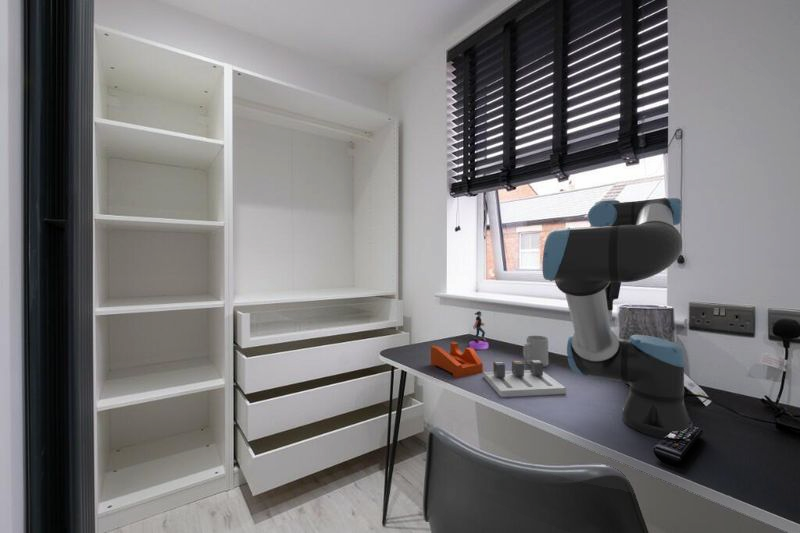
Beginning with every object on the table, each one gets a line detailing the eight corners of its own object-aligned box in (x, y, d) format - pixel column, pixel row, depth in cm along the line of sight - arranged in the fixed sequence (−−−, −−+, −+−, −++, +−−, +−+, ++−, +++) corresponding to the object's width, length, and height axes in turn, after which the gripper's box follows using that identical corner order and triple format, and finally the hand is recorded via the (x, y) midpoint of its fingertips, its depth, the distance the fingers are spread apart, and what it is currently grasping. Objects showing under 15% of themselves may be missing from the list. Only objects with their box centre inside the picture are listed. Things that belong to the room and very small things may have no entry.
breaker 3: (542, 375, 123) (542, 362, 123) (534, 375, 123) (534, 362, 123) (538, 372, 127) (538, 359, 127) (530, 372, 127) (530, 359, 127)
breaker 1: (505, 377, 122) (504, 364, 122) (496, 377, 122) (496, 364, 122) (501, 373, 126) (501, 360, 126) (493, 374, 126) (493, 361, 126)
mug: (536, 359, 150) (536, 334, 149) (552, 364, 142) (552, 338, 142) (516, 363, 144) (516, 338, 144) (532, 369, 137) (532, 342, 136)
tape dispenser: (430, 365, 145) (430, 346, 145) (454, 360, 151) (454, 342, 151) (457, 378, 129) (456, 357, 129) (482, 372, 135) (482, 352, 135)
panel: (565, 393, 113) (565, 387, 113) (500, 396, 112) (500, 390, 111) (539, 374, 131) (539, 369, 131) (483, 377, 129) (483, 371, 129)
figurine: (489, 349, 166) (489, 312, 165) (470, 349, 167) (469, 312, 166) (486, 344, 175) (486, 309, 175) (468, 344, 176) (468, 309, 176)
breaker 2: (523, 376, 123) (523, 363, 123) (515, 376, 123) (515, 363, 123) (519, 372, 127) (519, 360, 126) (511, 373, 126) (511, 360, 126)
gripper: (632, 247, 106) (632, 323, 107) (604, 248, 119) (604, 315, 120) (610, 248, 105) (609, 324, 106) (583, 248, 118) (583, 316, 119)
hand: (606, 319), depth 113 cm, fingers closed
